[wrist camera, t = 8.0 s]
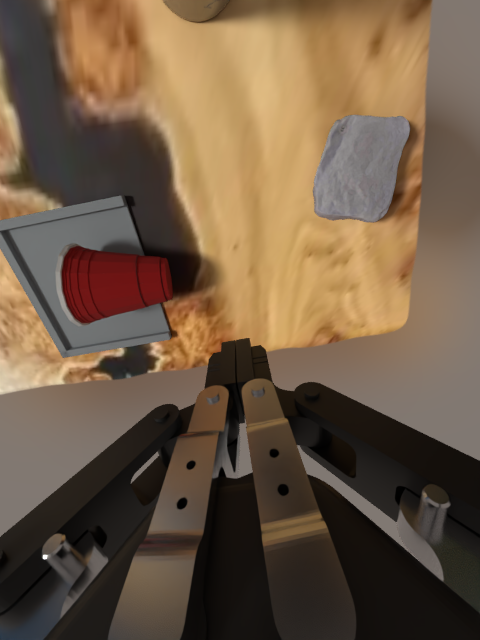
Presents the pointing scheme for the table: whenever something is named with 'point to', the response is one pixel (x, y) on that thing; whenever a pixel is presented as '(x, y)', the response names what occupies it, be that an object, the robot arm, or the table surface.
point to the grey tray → (40, 278)
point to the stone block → (359, 167)
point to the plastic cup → (109, 283)
